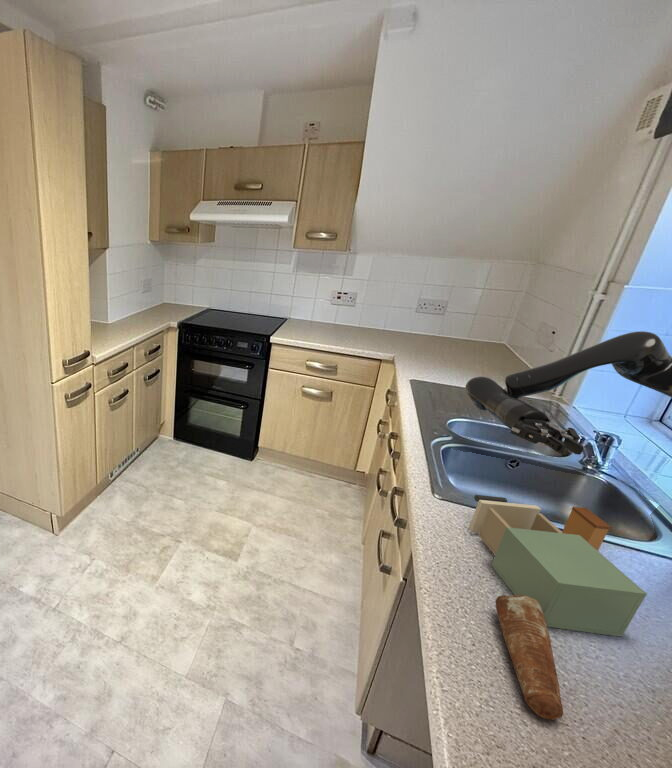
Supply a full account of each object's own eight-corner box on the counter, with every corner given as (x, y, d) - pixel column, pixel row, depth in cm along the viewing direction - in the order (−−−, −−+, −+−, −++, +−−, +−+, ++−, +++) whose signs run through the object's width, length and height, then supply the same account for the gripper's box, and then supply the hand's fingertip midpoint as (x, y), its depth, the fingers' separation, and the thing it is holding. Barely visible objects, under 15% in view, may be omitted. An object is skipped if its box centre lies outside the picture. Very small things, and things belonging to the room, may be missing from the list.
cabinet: (491, 565, 83) (506, 527, 80) (560, 574, 81) (579, 535, 78) (538, 625, 70) (558, 582, 67) (622, 637, 69) (647, 593, 65)
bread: (535, 625, 70) (547, 601, 68) (565, 733, 55) (581, 706, 53) (490, 608, 74) (500, 584, 72) (506, 706, 58) (519, 679, 56)
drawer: (455, 512, 97) (465, 484, 94) (508, 518, 96) (520, 490, 93) (503, 571, 80) (516, 539, 78) (568, 579, 79) (584, 547, 76)
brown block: (572, 537, 91) (586, 507, 88) (595, 558, 86) (610, 526, 83) (559, 536, 92) (572, 506, 89) (581, 556, 86) (596, 525, 83)
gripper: (495, 401, 107) (542, 432, 91) (555, 406, 105) (614, 438, 89) (486, 427, 110) (531, 461, 94) (545, 432, 108) (600, 467, 92)
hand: (571, 450), depth 92 cm, fingers open, 3 cm apart
